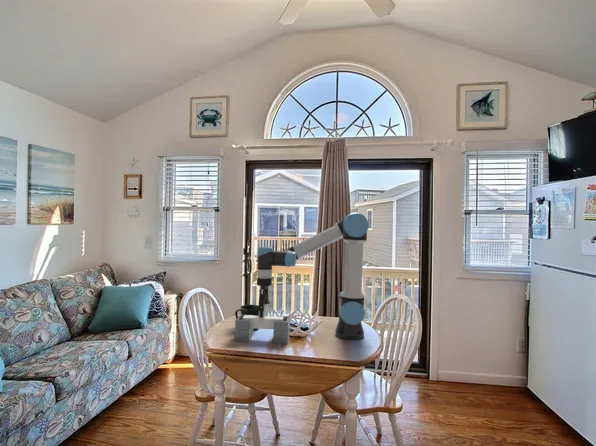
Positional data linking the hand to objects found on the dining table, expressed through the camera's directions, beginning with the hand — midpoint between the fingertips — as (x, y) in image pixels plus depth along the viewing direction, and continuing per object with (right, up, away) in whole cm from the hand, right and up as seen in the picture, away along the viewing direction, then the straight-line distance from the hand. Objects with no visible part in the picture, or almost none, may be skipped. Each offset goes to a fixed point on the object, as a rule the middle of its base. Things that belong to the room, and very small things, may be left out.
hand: (263, 320), depth 176 cm
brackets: (0, -10, 0) cm, 10 cm away
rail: (0, -4, 0) cm, 4 cm away
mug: (-11, -10, +18) cm, 23 cm away
